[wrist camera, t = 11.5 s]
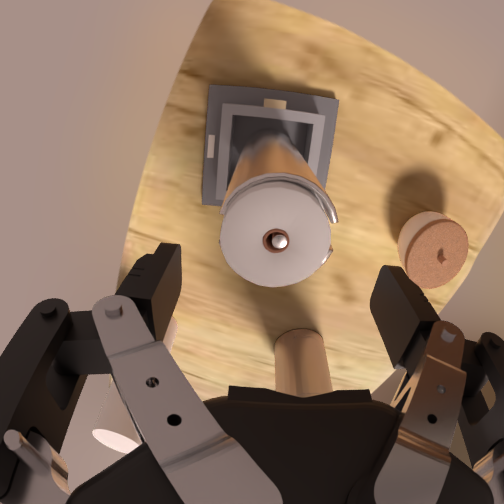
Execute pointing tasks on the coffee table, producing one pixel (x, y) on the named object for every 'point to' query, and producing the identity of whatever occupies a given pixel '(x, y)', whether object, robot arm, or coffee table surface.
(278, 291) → the coffee table surface
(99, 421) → the cylindrical container
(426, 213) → the lidded jar
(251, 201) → the silver metal cylinder
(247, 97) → the socket
